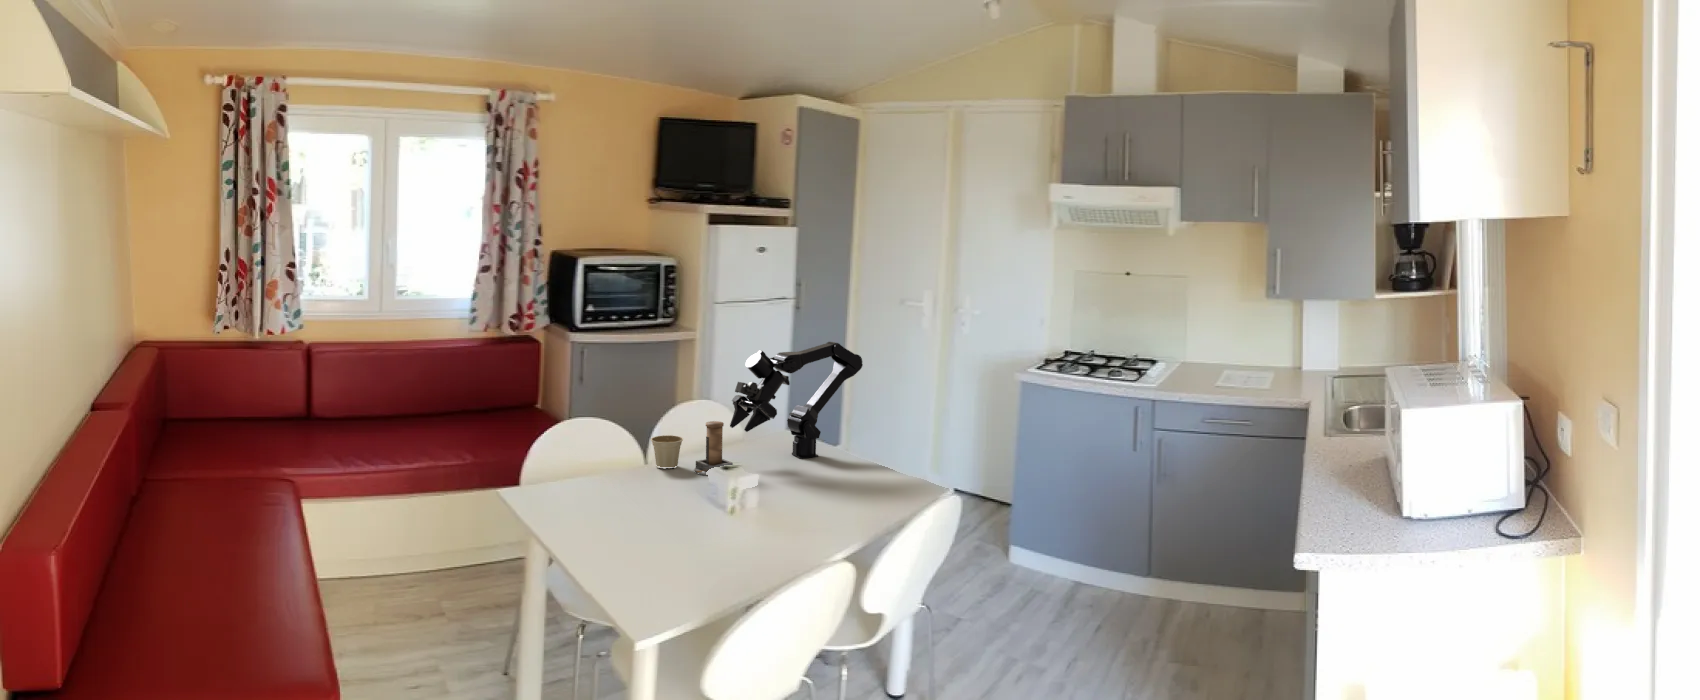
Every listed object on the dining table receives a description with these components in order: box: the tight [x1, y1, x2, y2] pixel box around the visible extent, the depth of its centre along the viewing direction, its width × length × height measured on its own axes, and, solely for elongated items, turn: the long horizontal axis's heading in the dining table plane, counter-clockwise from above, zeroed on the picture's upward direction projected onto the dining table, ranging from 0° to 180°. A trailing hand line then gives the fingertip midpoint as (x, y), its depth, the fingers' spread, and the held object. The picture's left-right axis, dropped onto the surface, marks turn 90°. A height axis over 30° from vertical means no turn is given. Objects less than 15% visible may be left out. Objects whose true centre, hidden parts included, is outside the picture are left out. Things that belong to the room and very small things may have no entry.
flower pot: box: [650, 434, 684, 467], centre depth 304 cm, size 9×9×9 cm
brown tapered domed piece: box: [705, 420, 725, 465], centre depth 301 cm, size 5×5×14 cm
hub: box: [693, 458, 734, 476], centre depth 302 cm, size 12×12×3 cm
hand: (738, 429), depth 306 cm, fingers open, 9 cm apart
